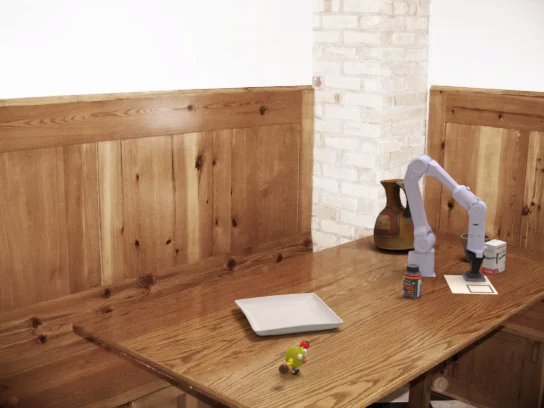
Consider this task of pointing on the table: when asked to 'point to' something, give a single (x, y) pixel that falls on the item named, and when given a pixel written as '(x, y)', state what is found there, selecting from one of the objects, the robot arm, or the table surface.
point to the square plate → (288, 314)
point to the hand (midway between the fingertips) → (474, 271)
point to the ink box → (494, 257)
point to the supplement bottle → (412, 282)
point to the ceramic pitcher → (394, 219)
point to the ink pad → (474, 278)
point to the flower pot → (465, 241)
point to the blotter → (469, 285)
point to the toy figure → (294, 358)
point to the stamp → (472, 273)
